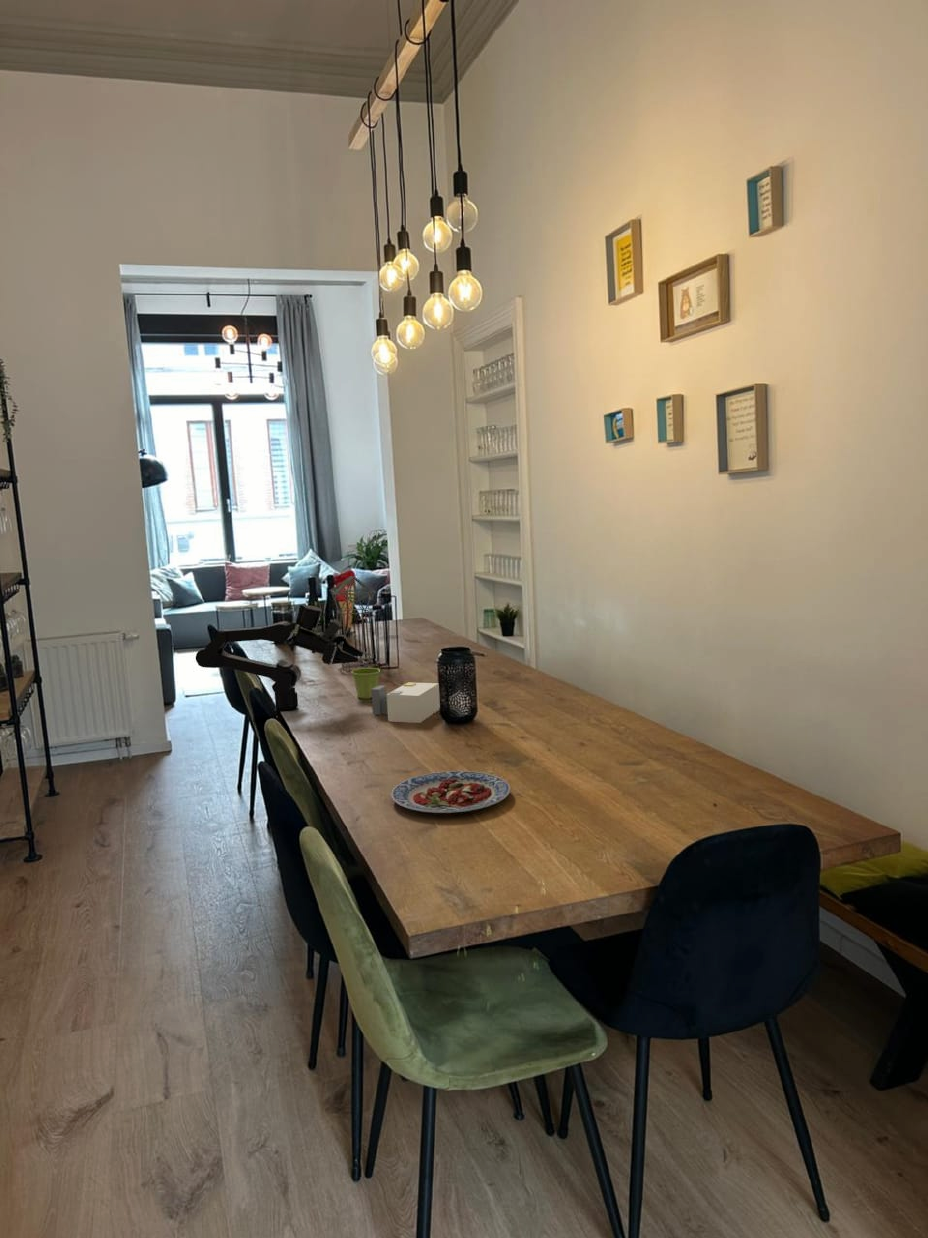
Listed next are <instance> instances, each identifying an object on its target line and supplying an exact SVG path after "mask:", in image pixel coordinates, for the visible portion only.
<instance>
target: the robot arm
mask: <svg viewBox="0 0 928 1238" xmlns="http://www.w3.org/2000/svg"><path fill="white" fill-rule="evenodd" d="M322 612H323V609H322V608H320V607H317V606H315V605H307V604H303V603H302V604H299V607H298V613H297V616H296V619H295V620H293V621H290V622H289V621H286V620H285V621H279V622H275V623H272V624H269V625H265V626H257V627H256V626H255V627H242V628H231V629H230V628H224V629H221V630H219V631H218V632H217V633H216V635H215V636H214V638H212V640H210V642H209V643H208V644H207V645H206V646H205V647H204V648H201V649H200V650H198V651H197V652H196V655H195V662H196V663H197V664H198V666H199V667H201V668H208V669H209V668H210V669H216V668H217V669H219V668H220V669H222V668H224V669H225V668H226V669H230V670H235V671H238V672H243V673H247V674H253V675H256V676H260V677H265V678H268V679H270V680H271V681H273V682H274V683H273V684H272V686H271V688H272V690H273V693H274V702H275V703H274V704H275V709H274V711H275V712H282V710H283V711H284V710H286V711H296V710H298V707H299V700H298V692H297V691H296V688H295V686H296V684H297V682H298V681H299V680H300V679H301V677H302V671H301V669H300V667H299V665H296V664H295V662H294V661H293V662H290V661H289V662H288V661H286V660H283V659H281V660H279V661H278V662H277V663H276V664H275V663H274V664H272V663H267V662H263V661H259V660H255V659H251V658H246V657H243V656H242V657H241V656H238V655H235V654H234V655H233V654H230V653H228V651H226V650H224V649H225V647H226V646H227V644H228V643H237V642H247V641H248V642H249V641H268V642H273V643H274V642H275V643H284V642H287V641H288V640H289V639H291V638H292V639H291V641H290V642H289V643H287V646H288V647H289V648H290V651H291V652H292V653H293V652H294V651H295V650H296V649H297V647H299V648H301V649H305V650H308V651H311V654H320V655H322V657H321V661H322V662H323V664H326V665H329V666H331V665H335V664H337V665H338V664H342V663H345V664H347V663H348V664H350V663H358V662H359V661H358V658H359V657H361V656H362V657H363V655H364V654H363V652H362V650H360V649H358V648H356V647H355V646H353V645H352V644H351V643H350V642H349V639H348V637H347V635H346V634H345V635H344V634H342V633H341V634H339V632H340V629H341V630H342V628H343V627H344V626H343V624H340V620H338V621H337V619H334V620H330V621H329V623H327V628H326V629H325V631H324V632H322V631H321V632H319V633H318V632H314V631H313V630H314V629H315V628H318V625H319V621H320V618H321V615H322ZM297 629H298V630H297ZM295 630H297V632H296V633H295ZM337 632H338V636H336V633H337ZM284 712H285V711H284Z"/></svg>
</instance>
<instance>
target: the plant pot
mask: <svg viewBox="0 0 928 1238" xmlns="http://www.w3.org/2000/svg"><path fill="white" fill-rule="evenodd" d="M355 669H356V668H355ZM352 670H353V671H351V674H352V676H353V678H354V684H355V688H356V689H355V690H356V695H357V698H359V699H362V700H364V699H366V700H369V699H372V689H373V688H375V687H377V686H378V684H379V683H378V681H379V677H380V673H381V669H379V668H376V667H368V668H366V667H363V668H362V667H361V668H357V669H356V670H354V669H352Z"/></svg>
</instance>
